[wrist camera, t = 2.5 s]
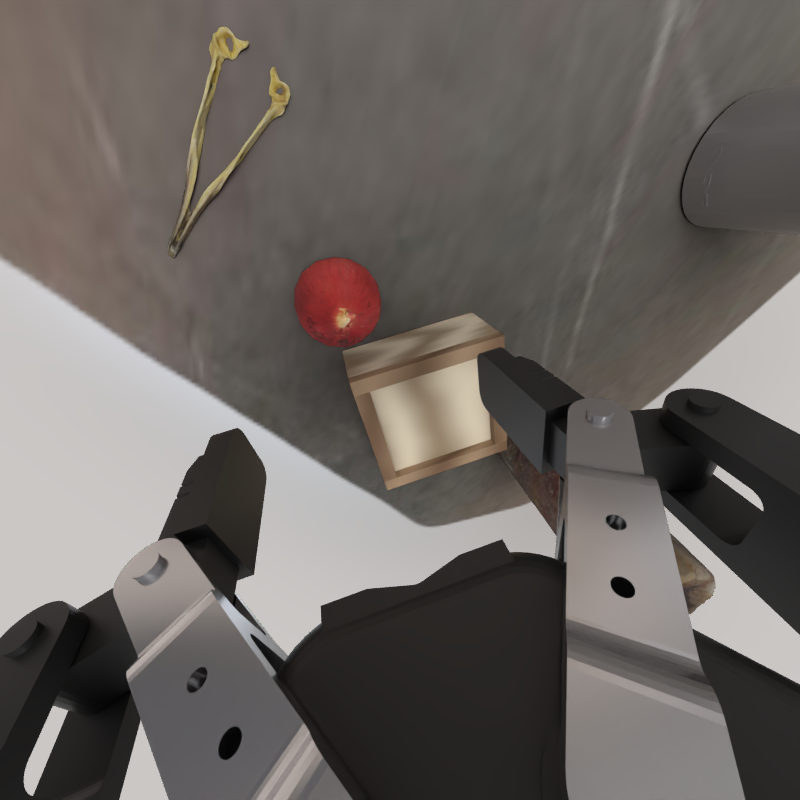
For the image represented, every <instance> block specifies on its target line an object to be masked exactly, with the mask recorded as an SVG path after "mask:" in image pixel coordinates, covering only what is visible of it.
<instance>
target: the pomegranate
mask: <svg viewBox="0 0 800 800" xmlns="http://www.w3.org/2000/svg"><path fill="white" fill-rule="evenodd" d="M294 306H295V309H296V312H297V315H298V318H299V321H300V324H301V326H302V327H303V328H304V329H305V330H306V331H307V333H308V334H309V335H310V336H311V337H312V338H314V339H316V340H318V341H320V342H322V343H324V344H326V345H328V346H335V347H349V346H351V345H354V344H356V343H358V342H361V341H362V340H363V339H365V338H366V337H367V336H368V335H369V334H370V333H371V332H372V331H373V330H374V328H375V326H376V324H377V322H378V320H379V318H380V309H381V298H380V293H379V289H378V285H377V282H376V281H375V279H374V278H373V277H372V275H371V274H370V273H369V271H368V270H367V269H366V268H364V267H363V266H361V265H359V264H357V263H356V262H354V261H352V260H350V259H344V258H337V257H332V258H328V259H324V260H320V261H316V262H315V263H314V264H312V265H311V266H310V267H308V268H307V269H306V270H305V271H303V272H302V274H301V276H300V278H299V280H298V283H297V285H296V287H295V303H294Z"/></svg>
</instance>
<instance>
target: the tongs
mask: <svg viewBox="0 0 800 800" xmlns="http://www.w3.org/2000/svg"><path fill="white" fill-rule="evenodd" d="M227 37H230V38H231V39H232V40H233V52H231V51H230V49H229V48H228V46H227V44H226V38H227ZM248 46H249V41H242V40H239V39H237V38H236V37H235V36H234V35H233V33H232V32H231V31H230V29H228V28H227V27H220V28H219V29H218V31H217V32H216V33H214V34H213V38H212V41H211V43H210V47H209V50H210V54H211V58H212V63H211V68H210V72H209V75H208V78H207V82H206V87H205V91H204V96H203V100H202V103H201V106H200V109H199V112H198V116H197V119H196V123H195V127H194V130H193V134H192V139H191V145H190V152H189V157H188V161H187V170H186V184H185V190H184V195H183V200H182V205H181V209H180V213H179V216H178V219H177V222H176V225H175V228H174V230H173V233H172V236H171V238H170V240H169V243H168V255H169V256H171V257H172V258H173V259H174V258H175V257H176V255H177V253H178V252H179V250H180V248H181V246H182V243H183V242H184V240H185V239H186V237H187V236H188V234H189V232H190V230H191V229H192V227H193V225H194V223H195V222H196V220H197V218H198V217H199V215H200V214H201V212H202V211H203V210H204V208H205V207H206V205H207V204H208V203H209V202H210V201H211V200H212V199H213V198H214V196H215V195H216V194H217V193H218V192H219V191H220V189H221V187H222V186H223V184H224V182H225V180H226V179H227V177H228V176H229V174H230V173H231V172H232V171H233V169H234V168H235V167H236V166H237V165H238V164H239V163H240V162H241V161H242V160H243V158H244V156H245V155H246V154H247V152H248V151H249V150H250V148H251V147H252V146H253V144H254V143H255V142H256V140H257V139H258V137H259V136H260V135H261V133H262V132H263V130H264V129H265V128H266V127H267V125H268V124H269V123H270V122H271V121H272V120H273V119H275V118H276V117H277V116H280V115H282V114H283V113H284V111H285V107H286V105H288V101H289V98H290V89H289V87H288V86H287V85H286V84H285V83H283V82H281V81H280V80H279V77H278V75H277V72H276V68H275V67H272V68H271V70H270V75H271V83H270V86H269V95H270V96H271V98H272V104H271V107H270V109H269V110H268V111H267V112H266V114H265V117H264V118H263V119H262V121H261V122H260V123H259V125H258V126H257V128H256V129H255V131H254V132H253V134H252V135H251V137H250V138H249V139H248V141H247V142H246V143H245V144H244V146H243V147H242V149H241V151H240V152H239V154H238V155H237V157H236V158H235V159H234V160H233V161H232V162H231V163H230V164H229V166H228V167H227V168H226V169H225V171H224V172H223V173H222V174H221V175H220V176H218V178H217V179H215V180H214V181H213V182H212V183H211V185H210V186H209V187H208V188H207V189H206V190H205V192H204V193H203V195H202V196H201V198H200V199H199V202H198V204H197V205H196V206H195V208H194V210H193V212H191V211H190V208H191V207H190V201H191V197H192V192H193V189H194V184H195V180H196V175H197V171H198V166H199V160H200V156H201V150H202V145H203V140H204V134H205V127H206V122H205V121H206V117H207V115H208V112H209V108H210V106H211V103H212V100H213V96H214V92H215V88H216V83H217V80H218V76H219V73H220V71H221V66H222V63H223V62H224V60H225V59H226V58H229V59H231V60H233V59H235V58H236V57H237V56H238V54H239V53H240V51H242V50H243V49H245V48H246V47H248ZM211 84H212V88H211V89H210V86H211ZM278 88H283V90H284V91H283V94H281V95H279V94H277V93H276V92H275V91H276V90H277V89H278ZM209 89H210V91H209Z"/></svg>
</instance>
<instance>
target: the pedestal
mask: <svg viewBox="0 0 800 800" xmlns="http://www.w3.org/2000/svg"><path fill="white" fill-rule="evenodd" d="M498 347H502V348H503V349H504V335H503V334H501V333H500V332H499V331H497V330H496V329H494V328H493V327H492V326H490V325H489V324H488V323H486V322H485V321H483V320H482V319H481V318H479V317H478V316H476V315H475V314H474V313H472V312H470V313H467V314H464V315H461V316H457V317H454V318H451V319H447V320H444V321H441V322H437V323H434V324H431V325H427V326H424V327H421V328H417V329H414V330H411V331H407V332H404V333H401V334H397V335H394V336H391V337H388V338H384V339H381V340H378V341H374V342H371V343H368V344H364V345H361V346H358V347H354V348H351V349H348V350H344V351H342V352H343V357H344V361H345V366H346V370H347V375H348V379H349V384H350V386H351V389H352V392H353V395H354V398H355V400H356V403H357V406H358V409H359V412H360V414H361V417H362V420H363V423H364V426H365V428H366V431H367V434H368V437H369V440H370V442H371V445H372V448H373V451H374V454H375V456H376V459H377V462H378V465H379V468H380V470H381V473H382V476H383V479H384V482H385V485H386V487H387V490H390V489H393V488H396V487H399V486H402V485H405V484H408V483H411V482H414V481H416V480H419V479H422V478H425V477H428V476H431V475H434V474H437V473H440V472H443V471H446V470H449V469H452V468H455V467H457V466H460V465H463V464H466V463H469V462H472V461H475V460H478V459H481V458H484V457H487V456H490V455H493V454H496V453H498V452H501V451H504V450H507V433H506V432H505V431H504V430H503V429H502V427H501V426H500V425H499V424H498V423H497V421H496V420H495V419H494V418H493V417H492V416H491V414H490V413H489V412H488V411H487V410H486V408H485V407H484V405H483V403H482V400H481V397H480V392H479V379H478V365H477V357H478V354H479V353H482V352H486V351H489V350H492V349H495V348H498Z"/></svg>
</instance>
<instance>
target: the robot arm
mask: <svg viewBox="0 0 800 800" xmlns="http://www.w3.org/2000/svg"><path fill="white" fill-rule="evenodd" d="M682 205H683V210H684V213H685V215H686V217H687V219H688V220H689V221H690V222H691V223H693V224H694V225H697V226H700V227H710V228H722V229H735V230H747V231H756V232H768V233H781V234H793V235H800V82H798V83H793V84H789V85H785V86H781V87H776V88H772V89H768V90H763V91H759V92H755V93H751V94H749V95H747V96H745V97H743V98H741V99H739V100H738V101H736V102H735V103H734V104H732V105H731V106H730V107H729V108H727V109H726V110H725V111H724V112H723V113H722V114H721V115H720V116H719V117H718V118H717V119H716V120H715V122H714V123H713V124H712V126H711V127H710V128H709V129H708V131H707V132H706V133H705V135H704V136H703V138H702V140H701V141H700V143H699V145H698V146H697V148H696V150H695V152H694V154H693V156H692V159H691V161H690V163H689V166H688V169H687V172H686V175H685V178H684V183H683V189H682ZM477 365H478V379H479V392H480V397H481V400H482V403H483V405H484V407H485V408H486V410H487V411H488V412H489V413H490V414H491V416H492V417H493V418H494V419H495V420H496V421H497V423H498V424H499V425H500V426H501V427H502V429H503V430H504V431H505V432H506V433H507V435H508V436H509V437H510V438H511V439H512V440H513V442H514V443H515V444H516V445H517V446H518V448H519V449H520V450H521V451H522V452H523V454H524V455H525V456H526V457H527V458H528V459H529V461H530V462H531V463H532V464H533V465H534V467H535V468H536V469H537V470H538V471H539V473H540V474H544V473H547V472H550V471H552V470H556V471H557V473H558V474H559V475H560V478H559V494H558V516H557V537H556V549H555V559H554V558H551V557H547V556H543V555H540V554H533V553H524V552H511V553H510V552H509V550H508V549H507V547H506V545H505V543H504V542H503V540H499V541H496V542H494V543H491V544H488V545H486V546H483V547H480V548H477V549H475V550H472V551H469V552H466V553H464V554H461V555H459V556H457V557H456V558H455V559H453V560H452V561H450V562H449V563H448V564H446V565H445V566H443V567H442V568H441V569H439V570H438V571H436V572H435V573H434V574H432V575H431V576H429V577H428V578H426V579H425V580H424V581H422V582H420V583H419V584H416V585H409V586H397V587H385V588H373V589H366V590H363V591H360V592H358V593H355V594H352V595H350V596H347V597H344V598H341V599H339V600H336V601H333V602H330V603H328V604H325V605H322V606H321V622H322V623H321V624H320V625H318V626H317V627H316V628H315V629H313V630H312V631H311V632H310V633H309V634H308V635H307V636H305V637H304V639H303V640H302V641H301V642H300V643H299V644H298V645H297V646H296V647H295V648H294V650H293V651H292V652H291V653H290V655H289V656H287V654H286V653H285V652H284V651H283V650H282V649H281V648H280V647H279V646H278V645H277V644H276V642H275V641H274V640H273V639H272V637H271V636H270V635H269V634H268V632H267V631H266V630H265V629H264V627H263V626H262V625H261V623H260V622H259V621H258V620H257V619H256V617H255V616H254V615H253V613H252V612H251V611H250V609H249V608H248V607H247V606H246V605H245V603H244V602H243V601H242V599H241V598H240V597H239V596H238V595H237V594H236V593H235V589H236V582H237V580H240V579H243V578H245V577H248V576H251V575H254V569H255V562H256V554H257V547H258V539H259V532H260V524H261V517H262V509H263V501H264V494H265V486H266V472H265V468H264V465H263V463H262V461H261V460H260V458H259V456H258V455H257V453H256V452H255V450H254V449H253V447H252V446H251V444H250V442H249V441H248V439H247V438H246V436H245V435H244V433H243V432H242V431H241V430H240V429H238V428H236V429H232V430H229V431H226V432H223V433H220V434H216V435H213V436H212V437H211V438H210V440H209V443H208V445H207V448H206V451H205V454H204V455H202V456H199V457H198V459H197V460H196V461H195V462H194V463H193V465H192V466H191V467H190V468H189V469H188V471H187V473H186V475H185V478H184V480H183V483H182V487H180V489H179V492H178V494H177V499H175V501H174V504H173V506H172V509H171V511H170V513H169V516H168V518H167V521H166V523H165V525H164V528H163V530H162V532H161V535H160V537H159V539H158V541H157V542H155V543H153V544H151V545H149V546H147V547H146V548H144V549H143V550H142V551H140V552H139V553H138V554H137V555H135V556H134V557H133V558H132V559H131V560H130V561H129V562H128V563H127V565H126V566H125V567H124V568H123V570H122V571H121V572H120V574H119V576H118V578H117V579H116V582H115V585H114V588H113V589H111V590H109V591H107V592H106V593H104V594H103V595H101V596H99V597H97V598H96V599H94V600H93V601H91V602H89V603H87V604H86V605H84V606H82V607H81V608H79V609H76V608H74V607H73V606H71V605H69V604H67V603H65V602H63V601H55V602H51V603H48V604H45V605H43V606H41V607H39V608H37V609H35V610H33V611H32V612H30V613H29V614H27V615H26V616H25V617H23V618H22V619H21V620H19V621H18V622H17V623H16V624H14V625H13V626H12V627H11V628H10V629H9V630H8V631H7V632H6V633H5V634H4V635H3V636H2V637H1V638H0V800H119V798H120V794H121V791H122V787H123V783H124V780H125V775H126V772H127V768H128V765H129V761H130V757H131V753H132V750H133V746H134V742H135V738H136V735H137V731H138V727H139V724H140V720H141V722H142V724H143V727H144V730H145V733H146V736H147V739H148V741H149V744H150V747H151V750H152V753H153V756H154V759H155V761H156V765H157V767H158V770H159V773H160V776H161V779H162V782H163V784H164V787H165V790H166V793H167V796H168V799H169V800H800V684H798V683H795V682H794V681H792V680H790V679H788V678H786V677H784V676H782V675H780V674H779V673H777V672H775V671H773V670H771V669H769V668H767V667H765V666H763V665H761V664H759V663H757V662H755V661H753V660H751V659H750V658H748V657H746V656H744V655H742V654H740V653H738V652H736V651H734V650H732V649H730V648H729V647H727V646H725V645H723V644H721V643H719V642H717V641H715V640H713V639H711V638H709V637H707V636H705V635H704V634H701V633H700V632H698V631H696V630H694V629H692V626H691V622H690V618H689V613H688V609H687V605H686V600H685V596H684V592H683V587H682V583H681V579H680V575H679V570H678V566H677V562H676V557H675V553H674V549H673V544H672V540H671V536H670V532H669V527H668V523H667V519H666V514H665V510H664V506H665V507H666V508H667V509H668V510H669V511H670V512H671V513H672V514H673V515H674V516H675V517H677V519H678V520H679V521H680V522H681V523H683V524H684V525H685V526H686V527H687V528H688V529H689V530H690V531H691V532H692V533H693V534H694V535H695V536H696V537H697V538H698V539H700V541H702V542H703V543H704V544H705V545H706V546H707V547H708V548H709V549H710V550H711V551H712V552H713V553H714V554H715V555H716V556H717V557H718V558H720V559H721V560H722V561H723V562H724V563H725V564H726V565H727V566H728V567H729V568H730V569H731V570H732V571H733V572H734V573H735V574H736V575H738V577H739V578H741V579H742V580H743V581H744V582H745V583H746V584H747V585H748V586H749V587H750V588H751V589H752V590H753V591H754V592H755V593H757V595H758V596H760V597H761V598H762V599H763V600H764V601H765V602H766V603H767V604H768V605H769V606H770V607H771V608H772V609H773V610H774V611H775V612H776V613H778V614H779V615H780V616H781V617H782V618H783V619H784V620H785V621H786V622H787V623H788V624H789V625H790V626H791V627H792V628H793V629H794V630H795V631H796V632H797V633H799V634H800V434H798V433H796V432H794V431H792V430H790V429H789V428H786V427H785V426H783V425H781V424H779V423H777V422H775V421H773V420H771V419H770V418H768V417H766V416H764V415H762V414H760V413H758V412H756V411H754V410H752V409H750V408H749V407H747V406H745V405H743V404H741V403H739V402H737V401H735V400H733V399H731V398H729V397H727V396H725V395H722V394H720V393H717V392H713V391H709V390H703V389H680V390H676V391H673V392H671V393H669V394H668V395H667V396H666V398H665V401H664V404H663V407H662V408H660V409H648V410H636V411H629V410H628V409H627V408H626V407H625V406H623V405H621V404H620V403H617V402H615V401H612V400H608V399H603V398H586V399H585V398H584V397H583V396H581V395H580V394H579V393H577V392H576V391H575V390H573V389H572V388H570V387H569V386H568V385H566V384H565V383H564V382H562V381H561V380H559V379H558V378H557V377H554V376H553V374H551V373H550V372H549V371H547V370H546V371H545V369H544V368H543V367H542V366H540V365H539V364H538V363H536V362H535V361H533V360H529V359H526V358H523V357H520V356H519V357H514V356H512V355H511V354H510V353H509V352H507V351H506V350H505V349H503V348H502V347H498V348H495V349H492V350H489V351H486V352H482V353H479V354H478V357H477ZM717 465H718V466H720V467H721V468H722V469H724V470H725V471H727V472H728V473H730V474H731V475H732V476H734V477H735V478H737V479H738V480H739V481H741V482H742V483H743V484H745V485H746V486H748V487H749V488H751V489H752V490H753V491H754V492H755V493H756V494H757V495H758V496H759V498H760V499H761V501H762V503H763V507H764V511H761V510H760V509H759V508H757V507H756V506H755V505H753V504H752V503H751V502H749V501H748V500H747V499H745V498H744V497H743V496H741V495H740V494H739V493H737V492H736V491H735V490H733V489H732V488H731V487H729V486H728V485H727V484H725V483H724V482H723V481H721V480H720V479H719V478H717V477H716V476H715V475H713V472H714V470H715V469H716V467H717ZM663 505H664V506H663ZM52 706H56V707H59V708H63V709H66V710H69V711H68V713H67V715H66V718H65V720H64V723H63V725H62V727H61V730H60V732H59V735H58V737H57V739H56V742H55V744H54V747H53V749H52V752H51V754H50V756H49V759H48V761H47V764H46V767H45V768H44V771H43V773H42V776H41V778H40V781H39V783H38V785H37V788H36V790H35V793H34V795H33V796H30V795H29V794H28V793H27V792H26V790H25V788H24V782H23V780H24V771H25V767H26V764H27V762H28V759H29V757H30V755H31V753H32V751H33V748H34V746H35V744H36V742H37V739H38V737H39V735H40V733H41V731H42V728H43V726H44V724H45V721H46V719H47V717H48V715H49V713H50V711H51V708H52Z"/></svg>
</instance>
